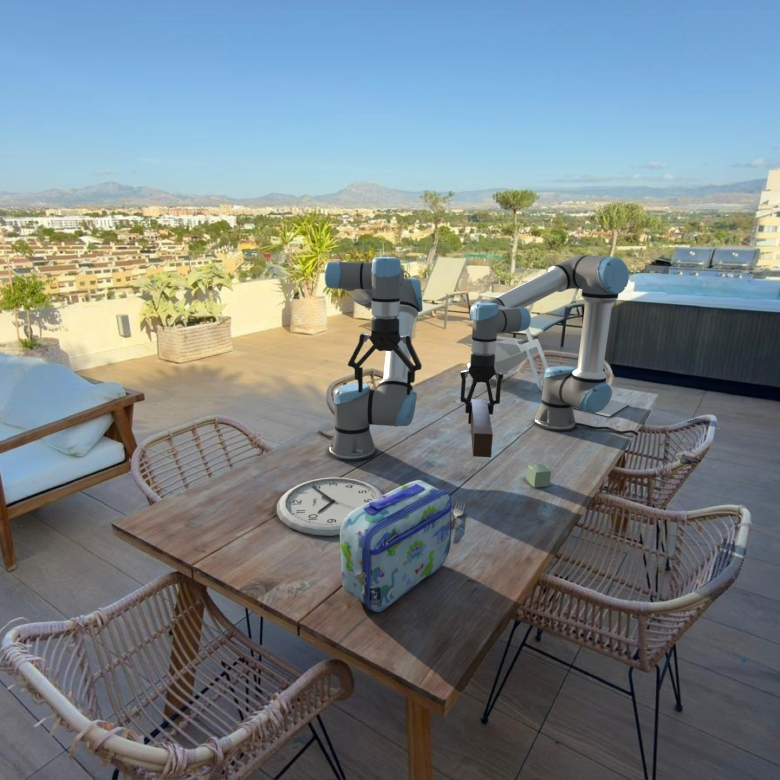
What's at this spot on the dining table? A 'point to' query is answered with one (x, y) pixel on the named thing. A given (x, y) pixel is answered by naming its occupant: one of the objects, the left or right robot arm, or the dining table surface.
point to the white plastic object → (518, 355)
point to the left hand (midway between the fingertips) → (384, 392)
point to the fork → (457, 514)
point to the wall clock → (323, 504)
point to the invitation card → (611, 408)
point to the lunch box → (394, 543)
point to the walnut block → (481, 429)
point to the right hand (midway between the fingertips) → (478, 422)
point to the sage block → (538, 475)
